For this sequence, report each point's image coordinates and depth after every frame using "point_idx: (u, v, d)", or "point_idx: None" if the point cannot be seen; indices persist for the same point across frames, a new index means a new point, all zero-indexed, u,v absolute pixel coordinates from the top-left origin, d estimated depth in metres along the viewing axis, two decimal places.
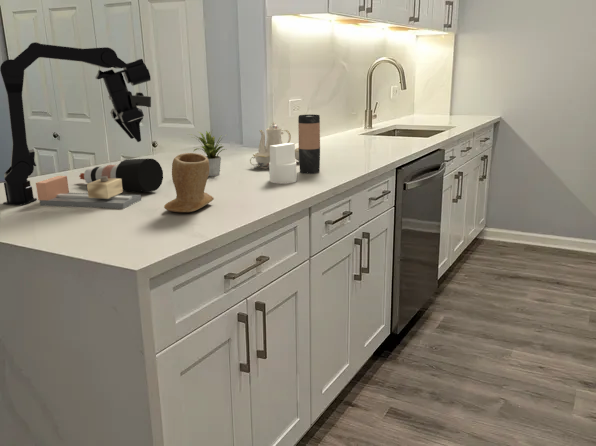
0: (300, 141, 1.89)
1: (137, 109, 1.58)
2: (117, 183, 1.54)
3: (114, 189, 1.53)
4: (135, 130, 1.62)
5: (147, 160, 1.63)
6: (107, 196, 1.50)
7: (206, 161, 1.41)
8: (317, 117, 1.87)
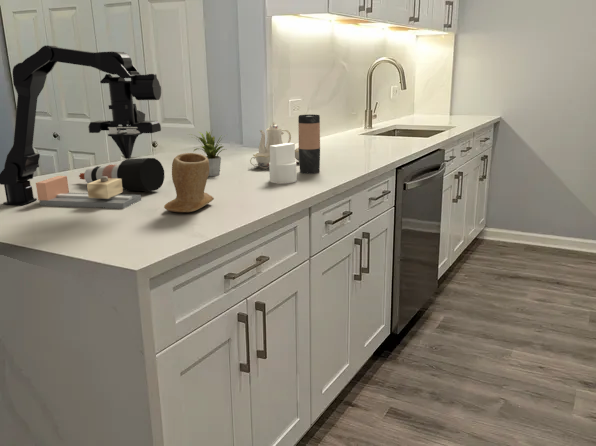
0: (300, 141, 1.89)
1: (158, 122, 1.47)
2: (117, 183, 1.54)
3: (114, 189, 1.53)
4: (131, 145, 1.48)
5: (149, 159, 1.63)
6: (107, 196, 1.50)
7: (206, 161, 1.41)
8: (317, 117, 1.87)
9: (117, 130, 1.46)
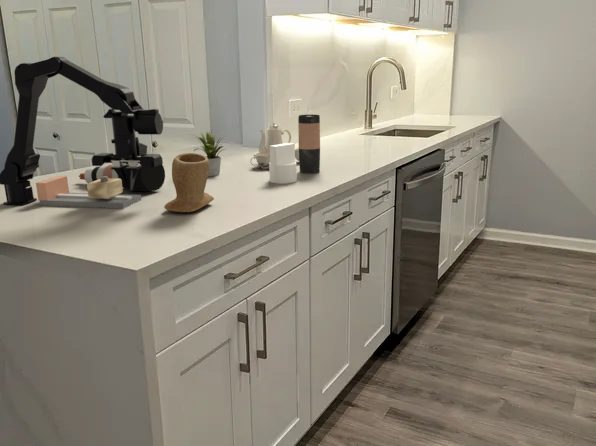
0: (300, 141, 1.89)
1: (160, 155, 1.49)
2: (117, 183, 1.54)
3: (114, 189, 1.53)
4: (133, 177, 1.50)
5: None
6: (107, 196, 1.50)
7: (206, 161, 1.41)
8: (317, 117, 1.87)
9: (120, 163, 1.48)
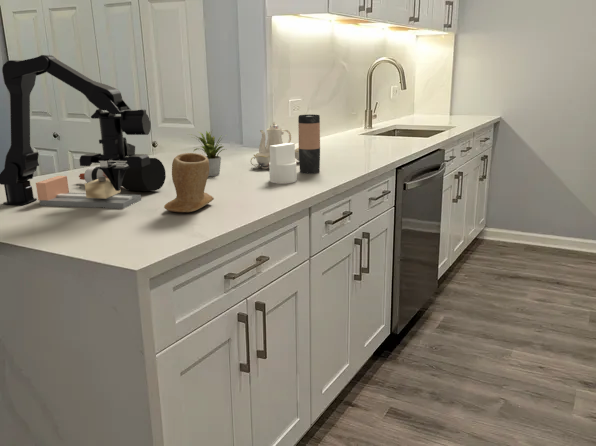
0: (300, 141, 1.89)
1: (147, 155, 1.50)
2: None
3: (112, 189, 1.53)
4: (120, 177, 1.51)
5: (150, 159, 1.64)
6: (105, 196, 1.50)
7: (206, 161, 1.41)
8: (317, 117, 1.87)
9: (108, 163, 1.49)
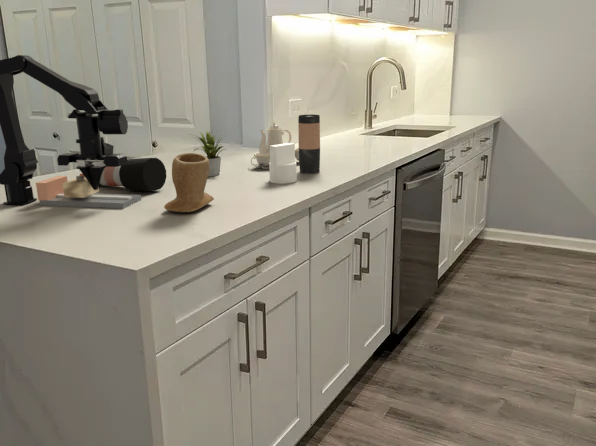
0: (300, 141, 1.89)
1: (124, 155, 1.51)
2: None
3: (90, 188, 1.54)
4: (98, 177, 1.53)
5: (151, 159, 1.64)
6: (82, 195, 1.51)
7: (206, 161, 1.41)
8: (317, 117, 1.87)
9: (85, 163, 1.51)
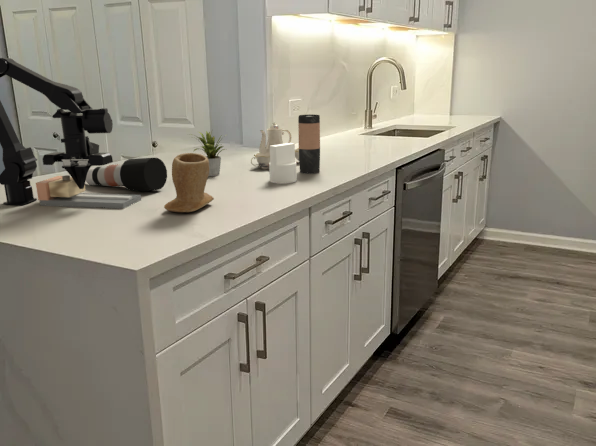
0: (300, 141, 1.89)
1: (109, 154, 1.52)
2: None
3: (76, 188, 1.55)
4: (83, 176, 1.54)
5: (152, 159, 1.64)
6: (68, 195, 1.52)
7: (206, 161, 1.41)
8: (317, 117, 1.87)
9: (70, 162, 1.51)
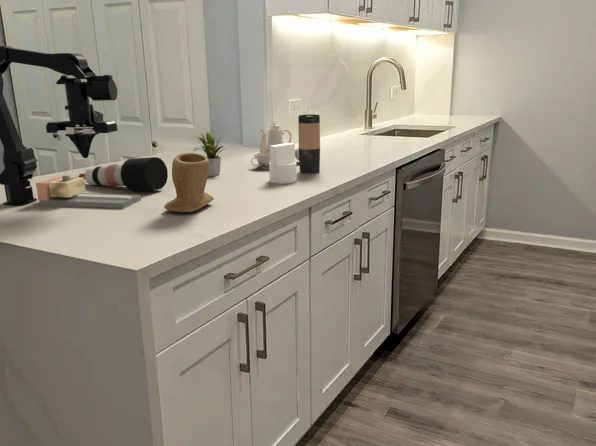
0: (300, 141, 1.89)
1: (114, 122, 1.49)
2: (79, 182, 1.56)
3: (76, 188, 1.55)
4: (87, 145, 1.51)
5: (153, 159, 1.65)
6: (68, 195, 1.52)
7: (206, 161, 1.41)
8: (317, 117, 1.87)
9: (74, 130, 1.49)
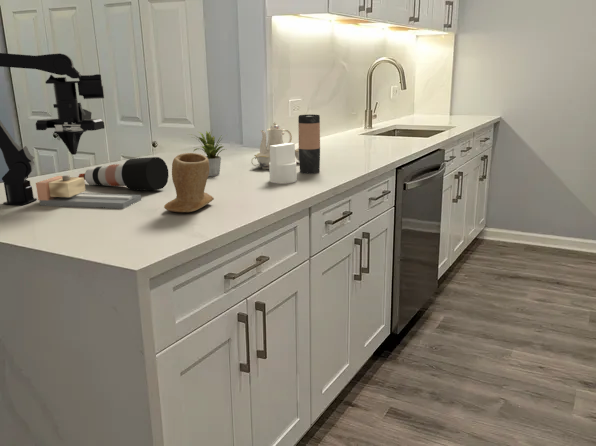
0: (300, 141, 1.89)
1: (101, 120, 1.55)
2: (79, 182, 1.56)
3: (76, 188, 1.55)
4: (76, 141, 1.57)
5: (154, 159, 1.65)
6: (68, 195, 1.52)
7: (206, 161, 1.41)
8: (317, 117, 1.87)
9: (63, 127, 1.55)
